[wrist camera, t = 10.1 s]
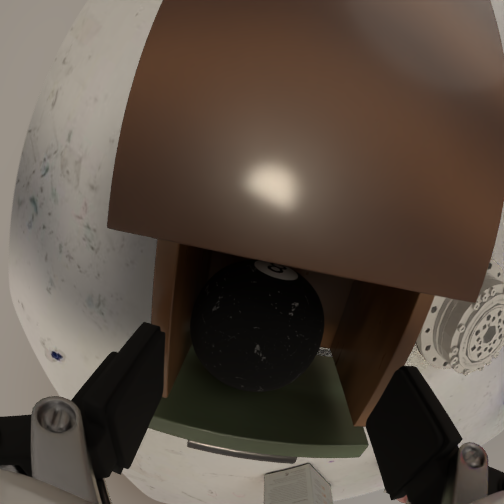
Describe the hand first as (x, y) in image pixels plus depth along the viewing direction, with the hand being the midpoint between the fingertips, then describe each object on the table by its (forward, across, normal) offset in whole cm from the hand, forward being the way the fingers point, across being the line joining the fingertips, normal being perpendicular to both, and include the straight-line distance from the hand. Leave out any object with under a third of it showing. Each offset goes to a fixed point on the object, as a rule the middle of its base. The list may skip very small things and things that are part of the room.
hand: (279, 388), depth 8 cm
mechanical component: (+10, -16, 0) cm, 19 cm away
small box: (+10, -9, +24) cm, 28 cm away
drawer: (+9, 0, +1) cm, 9 cm away
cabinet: (+10, 0, -12) cm, 15 cm away
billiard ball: (+7, 0, 0) cm, 7 cm away
